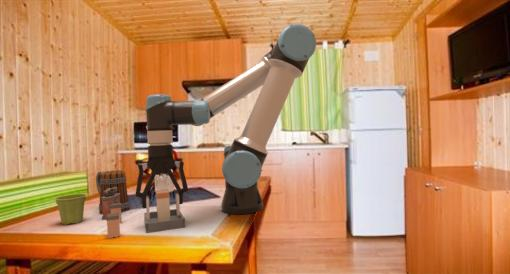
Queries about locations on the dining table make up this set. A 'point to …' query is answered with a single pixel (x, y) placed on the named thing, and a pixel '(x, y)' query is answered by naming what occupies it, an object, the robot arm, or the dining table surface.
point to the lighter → (109, 201)
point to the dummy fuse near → (113, 225)
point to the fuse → (163, 205)
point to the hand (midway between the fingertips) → (163, 216)
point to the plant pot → (71, 208)
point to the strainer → (163, 182)
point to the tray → (163, 222)
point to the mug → (111, 181)
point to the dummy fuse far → (116, 209)
